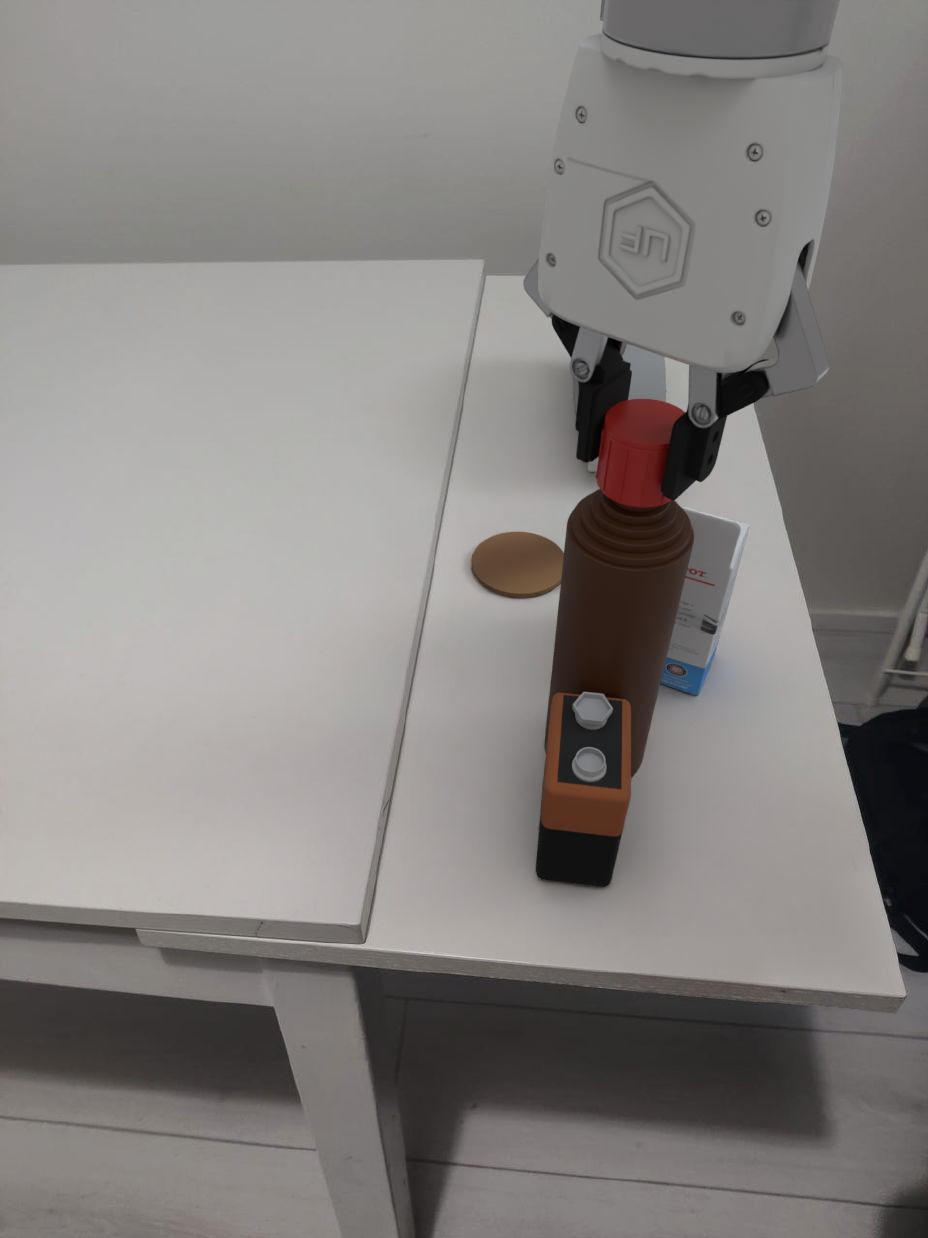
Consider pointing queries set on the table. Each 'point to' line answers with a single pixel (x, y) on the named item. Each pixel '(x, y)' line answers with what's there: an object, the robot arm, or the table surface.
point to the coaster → (518, 564)
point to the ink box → (703, 599)
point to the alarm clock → (638, 380)
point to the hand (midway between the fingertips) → (640, 463)
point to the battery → (584, 788)
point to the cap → (636, 451)
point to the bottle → (619, 604)
